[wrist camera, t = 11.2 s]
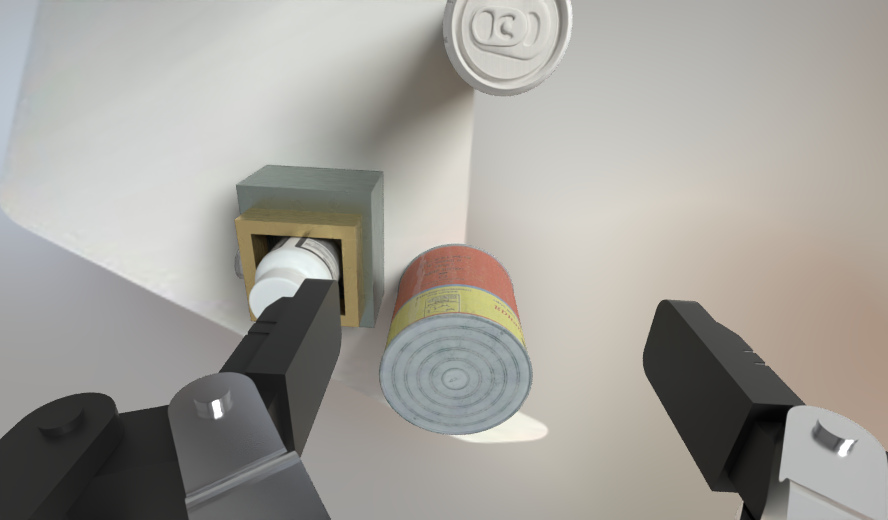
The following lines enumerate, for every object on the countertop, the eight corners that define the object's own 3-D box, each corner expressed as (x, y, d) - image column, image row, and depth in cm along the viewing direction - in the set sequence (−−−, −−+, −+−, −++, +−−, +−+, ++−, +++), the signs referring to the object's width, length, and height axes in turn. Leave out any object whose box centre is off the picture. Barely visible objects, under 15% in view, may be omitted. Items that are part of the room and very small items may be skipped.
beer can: (522, 80, 35) (564, 103, 21) (445, 74, 35) (437, 93, 21) (535, -10, 32) (592, -49, 19) (451, -17, 32) (447, -61, 19)
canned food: (481, 358, 47) (488, 452, 36) (381, 319, 45) (357, 406, 34) (535, 272, 42) (561, 350, 31) (425, 224, 40) (414, 291, 30)
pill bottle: (298, 278, 39) (253, 344, 30) (279, 220, 37) (223, 273, 28) (358, 269, 38) (330, 334, 30) (342, 211, 36) (306, 261, 27)
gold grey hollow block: (243, 163, 38) (190, 193, 31) (383, 171, 38) (364, 203, 31) (261, 285, 44) (219, 337, 36) (384, 292, 44) (368, 345, 36)
